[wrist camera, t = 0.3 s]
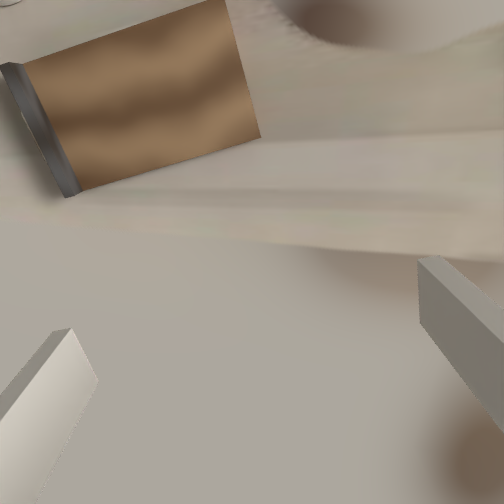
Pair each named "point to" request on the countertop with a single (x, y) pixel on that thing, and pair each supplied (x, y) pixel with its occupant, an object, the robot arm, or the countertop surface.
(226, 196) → the countertop surface
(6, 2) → the mug
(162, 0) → the countertop surface
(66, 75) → the flat wooden box
